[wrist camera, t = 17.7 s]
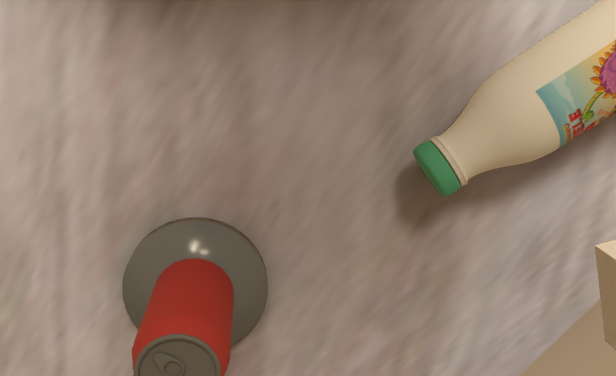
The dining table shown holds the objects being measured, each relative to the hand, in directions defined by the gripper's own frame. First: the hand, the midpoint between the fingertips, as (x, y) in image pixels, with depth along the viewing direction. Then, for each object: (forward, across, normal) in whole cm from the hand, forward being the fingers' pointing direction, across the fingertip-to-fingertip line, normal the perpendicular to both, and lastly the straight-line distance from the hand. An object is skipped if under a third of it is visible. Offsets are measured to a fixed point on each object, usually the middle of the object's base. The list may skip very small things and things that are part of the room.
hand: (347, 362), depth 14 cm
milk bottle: (+31, +29, 0) cm, 42 cm away
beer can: (+33, -11, -12) cm, 37 cm away
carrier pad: (+34, -11, -12) cm, 38 cm away
